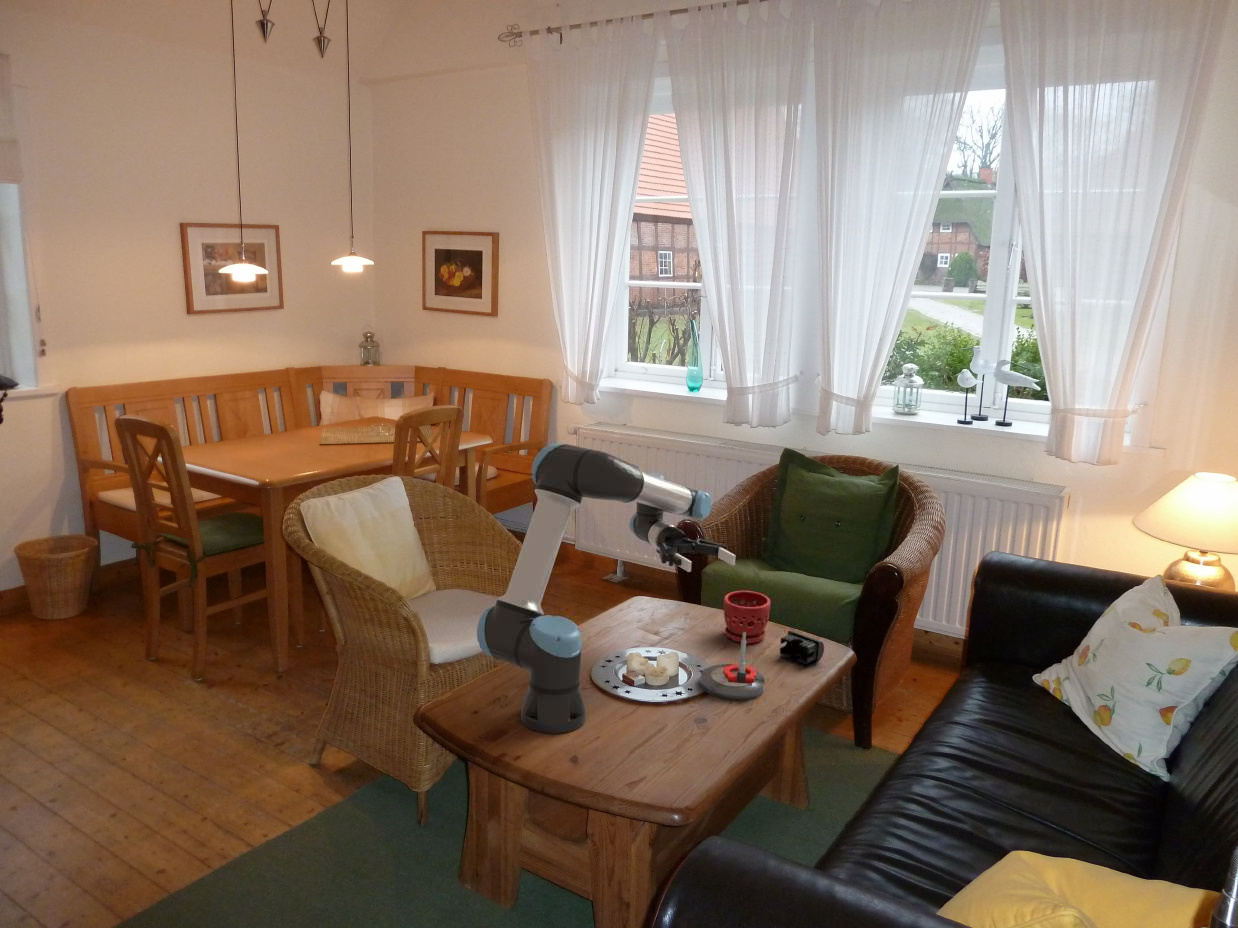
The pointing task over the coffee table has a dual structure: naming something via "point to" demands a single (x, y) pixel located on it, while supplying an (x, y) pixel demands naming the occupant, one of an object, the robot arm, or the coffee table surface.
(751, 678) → the tow hook
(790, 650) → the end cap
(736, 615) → the plant pot
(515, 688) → the coffee table surface
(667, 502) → the robot arm
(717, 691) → the rosette plate
